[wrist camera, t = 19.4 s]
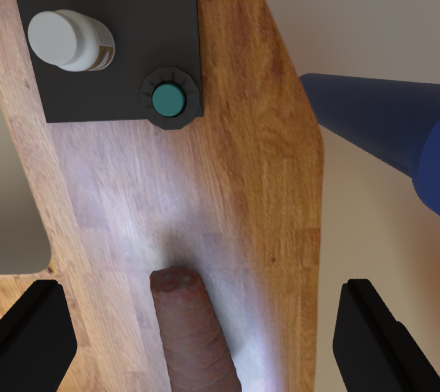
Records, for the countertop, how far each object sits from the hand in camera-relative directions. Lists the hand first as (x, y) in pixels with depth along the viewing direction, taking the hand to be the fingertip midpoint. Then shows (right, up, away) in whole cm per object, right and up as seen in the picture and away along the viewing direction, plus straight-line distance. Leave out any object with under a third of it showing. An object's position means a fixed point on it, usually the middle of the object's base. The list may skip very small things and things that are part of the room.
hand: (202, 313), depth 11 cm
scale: (-9, +18, +20) cm, 29 cm away
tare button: (-4, +13, +19) cm, 24 cm away
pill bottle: (-11, +18, +19) cm, 29 cm away
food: (-2, -13, +34) cm, 36 cm away
